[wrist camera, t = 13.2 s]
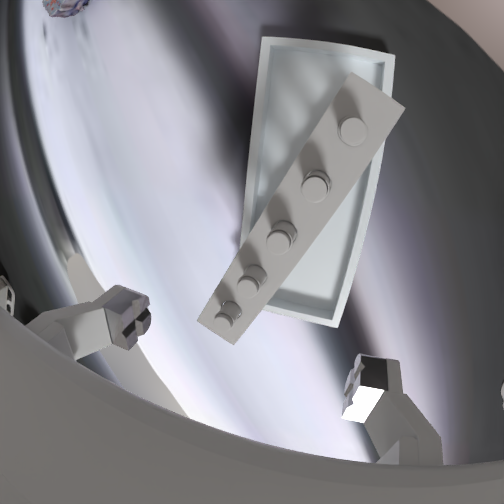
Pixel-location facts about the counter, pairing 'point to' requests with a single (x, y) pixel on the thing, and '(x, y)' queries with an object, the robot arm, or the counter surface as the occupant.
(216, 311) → the test tube rack
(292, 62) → the tray
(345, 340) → the counter surface
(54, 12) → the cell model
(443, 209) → the counter surface
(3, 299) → the network device
